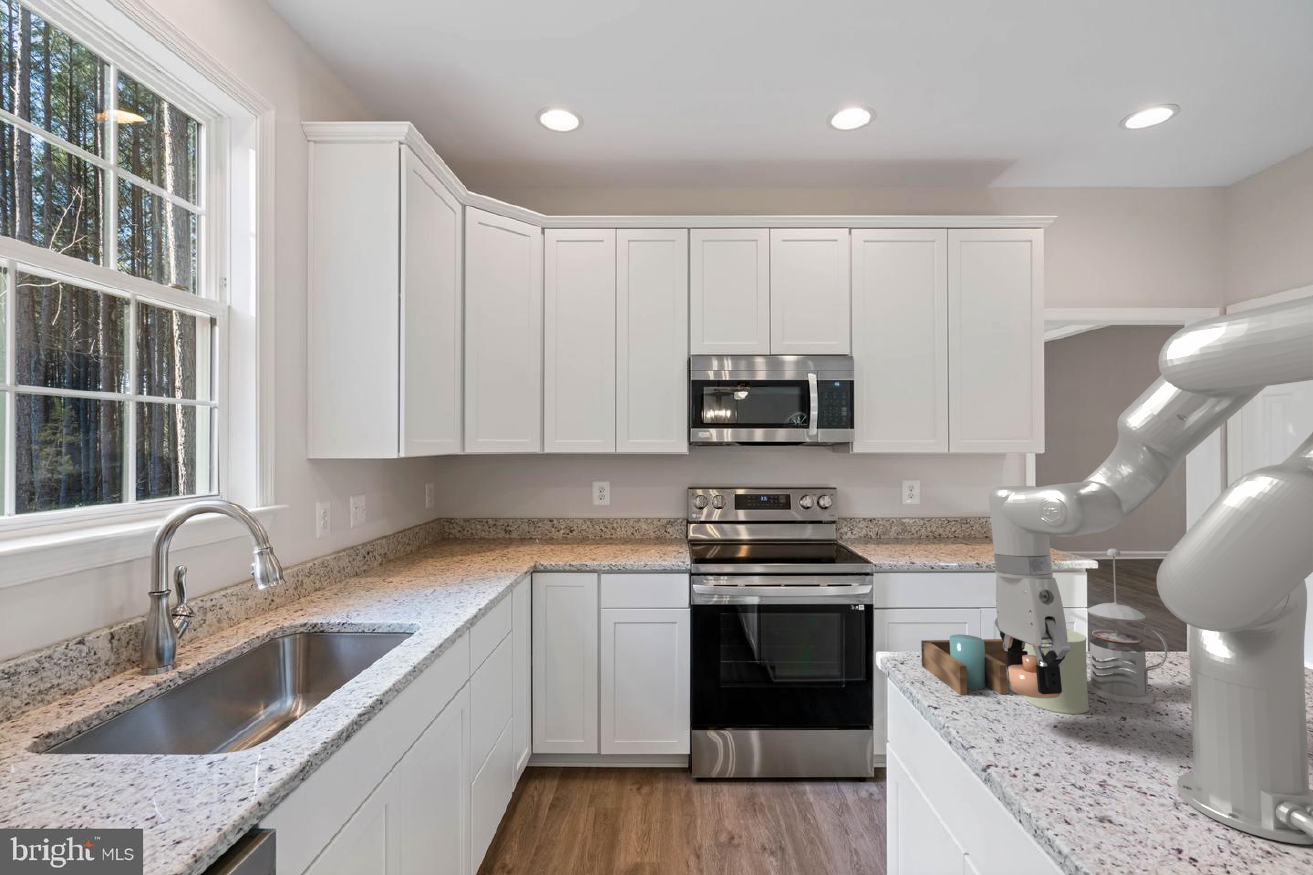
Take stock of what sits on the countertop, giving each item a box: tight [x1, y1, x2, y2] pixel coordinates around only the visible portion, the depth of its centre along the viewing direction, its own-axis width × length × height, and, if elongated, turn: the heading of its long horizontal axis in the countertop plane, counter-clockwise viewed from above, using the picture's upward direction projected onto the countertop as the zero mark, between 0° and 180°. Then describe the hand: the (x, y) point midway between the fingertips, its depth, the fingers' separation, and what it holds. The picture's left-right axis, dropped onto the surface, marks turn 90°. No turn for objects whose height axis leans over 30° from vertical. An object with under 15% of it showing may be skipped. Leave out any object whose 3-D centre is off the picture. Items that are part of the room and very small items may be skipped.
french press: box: [1086, 548, 1169, 705], centre depth 101 cm, size 10×12×25 cm
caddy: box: [920, 638, 1023, 696], centre depth 108 cm, size 14×22×5 cm, turn 91°
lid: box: [1007, 655, 1060, 698], centre depth 88 cm, size 6×6×5 cm
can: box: [1022, 628, 1090, 715], centre depth 98 cm, size 9×9×12 cm
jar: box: [949, 633, 987, 691], centre depth 106 cm, size 6×6×8 cm
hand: (1033, 683), depth 88 cm, fingers closed on lid, 6 cm apart
